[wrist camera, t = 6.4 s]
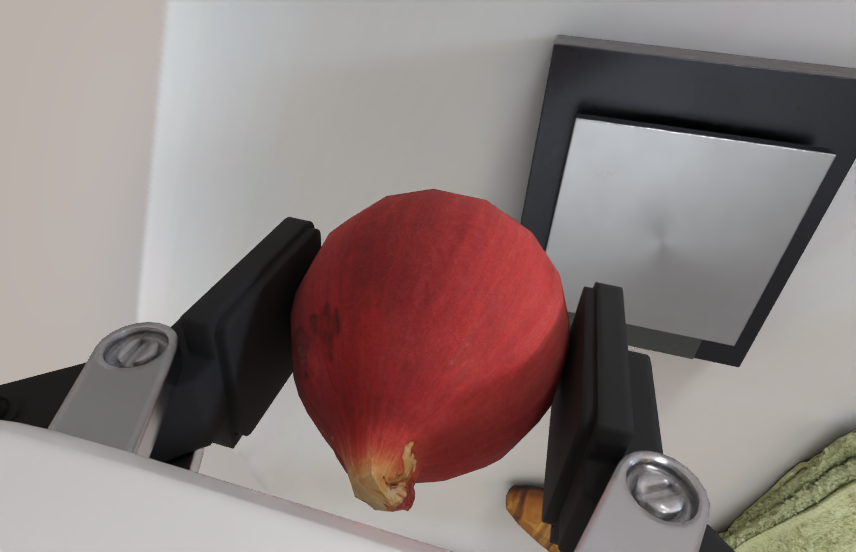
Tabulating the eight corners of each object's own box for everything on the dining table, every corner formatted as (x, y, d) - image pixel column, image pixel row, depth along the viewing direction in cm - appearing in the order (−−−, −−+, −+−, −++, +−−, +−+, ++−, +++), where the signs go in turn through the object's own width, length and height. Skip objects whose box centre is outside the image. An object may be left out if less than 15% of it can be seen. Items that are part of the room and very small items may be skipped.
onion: (401, 334, 17) (280, 588, 10) (334, 166, 14) (114, 366, 8) (589, 319, 15) (585, 628, 8) (552, 117, 12) (504, 340, 5)
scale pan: (576, 112, 23) (575, 117, 22) (829, 147, 21) (836, 154, 20) (534, 296, 28) (533, 305, 28) (731, 336, 27) (734, 346, 26)
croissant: (496, 505, 45) (487, 562, 41) (520, 459, 41) (511, 517, 37) (652, 562, 43) (658, 627, 39) (692, 520, 39) (704, 587, 35)
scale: (557, 34, 24) (553, 45, 22) (871, 70, 22) (903, 86, 20) (508, 294, 33) (501, 321, 30) (730, 339, 30) (740, 372, 28)
